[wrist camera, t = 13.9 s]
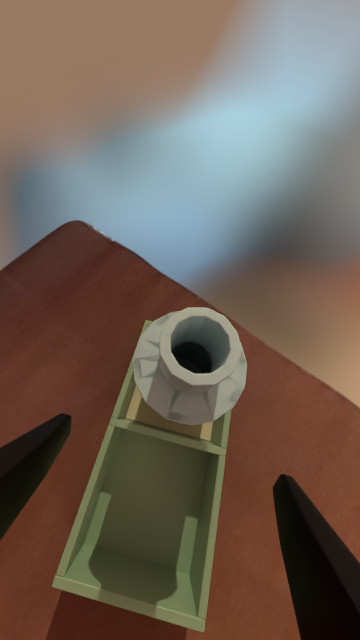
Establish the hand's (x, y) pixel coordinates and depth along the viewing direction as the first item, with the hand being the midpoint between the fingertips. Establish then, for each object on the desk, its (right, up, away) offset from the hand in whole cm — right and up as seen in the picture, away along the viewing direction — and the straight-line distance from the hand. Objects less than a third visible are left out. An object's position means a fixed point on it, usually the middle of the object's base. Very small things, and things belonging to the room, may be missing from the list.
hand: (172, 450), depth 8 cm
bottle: (0, -1, +12) cm, 12 cm away
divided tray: (-1, -5, +10) cm, 11 cm away
